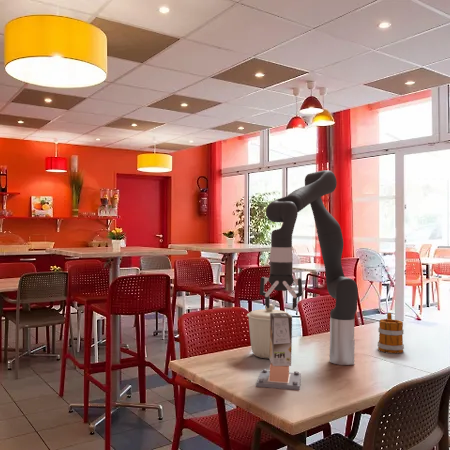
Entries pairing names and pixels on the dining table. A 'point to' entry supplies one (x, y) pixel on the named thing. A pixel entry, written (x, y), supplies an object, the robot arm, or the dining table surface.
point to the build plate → (265, 381)
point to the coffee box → (280, 339)
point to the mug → (390, 335)
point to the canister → (261, 330)
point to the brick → (279, 373)
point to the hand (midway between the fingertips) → (280, 308)
